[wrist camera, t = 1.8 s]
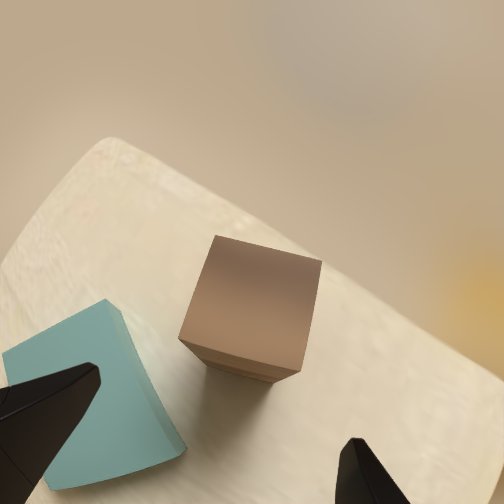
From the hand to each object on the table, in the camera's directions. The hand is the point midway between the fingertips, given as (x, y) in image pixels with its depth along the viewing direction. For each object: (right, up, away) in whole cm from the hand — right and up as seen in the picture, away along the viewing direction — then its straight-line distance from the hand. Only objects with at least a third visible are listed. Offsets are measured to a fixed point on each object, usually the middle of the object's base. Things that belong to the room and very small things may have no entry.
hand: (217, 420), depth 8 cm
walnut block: (+1, -1, +12) cm, 13 cm away
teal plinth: (-12, -7, +9) cm, 16 cm away
